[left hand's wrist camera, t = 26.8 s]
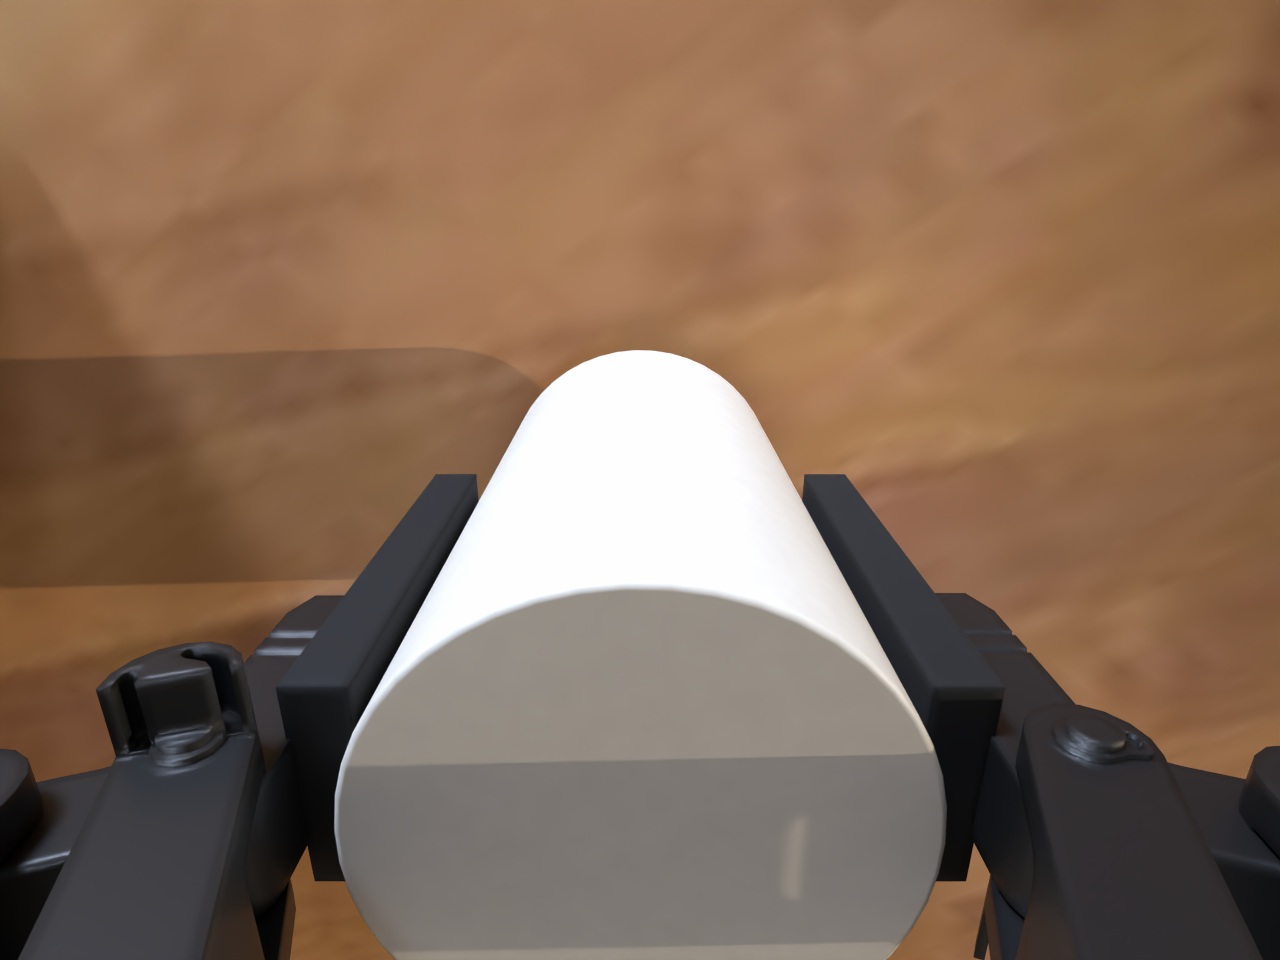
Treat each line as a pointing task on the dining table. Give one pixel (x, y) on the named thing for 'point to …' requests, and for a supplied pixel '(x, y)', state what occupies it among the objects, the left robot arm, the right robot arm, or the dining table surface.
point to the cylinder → (640, 709)
